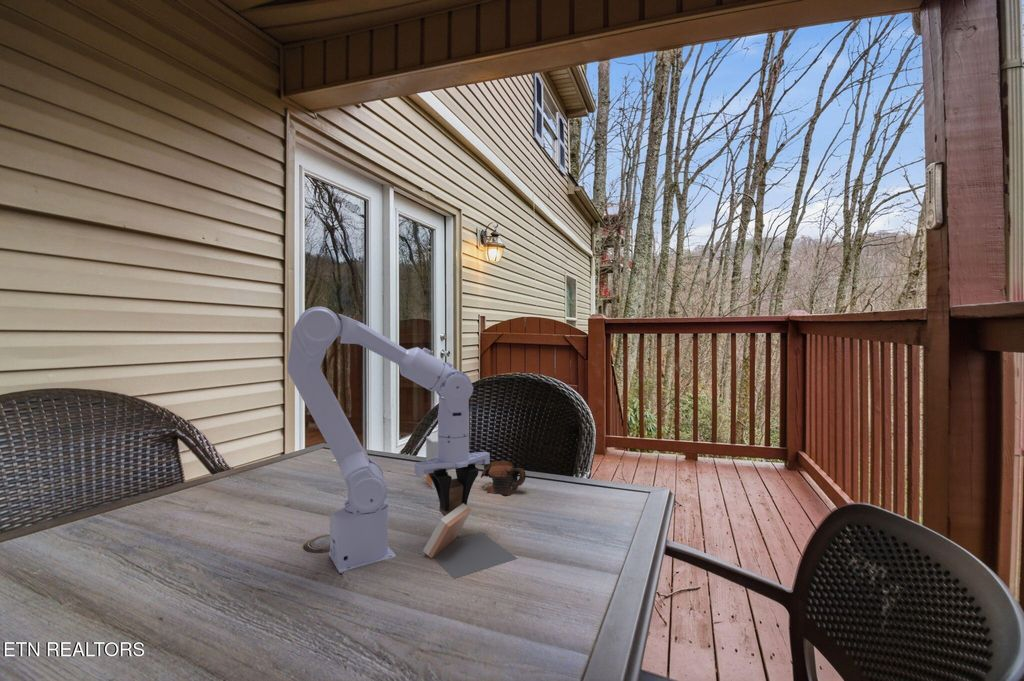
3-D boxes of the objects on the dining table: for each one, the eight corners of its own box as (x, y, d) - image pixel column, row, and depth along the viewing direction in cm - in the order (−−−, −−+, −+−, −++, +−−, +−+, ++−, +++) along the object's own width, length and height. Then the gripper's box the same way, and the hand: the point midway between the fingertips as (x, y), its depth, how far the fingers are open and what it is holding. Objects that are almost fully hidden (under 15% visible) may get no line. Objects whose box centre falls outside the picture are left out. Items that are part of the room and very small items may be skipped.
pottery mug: (474, 497, 112) (474, 463, 116) (491, 503, 120) (490, 470, 124) (521, 490, 109) (518, 455, 113) (535, 496, 116) (532, 463, 120)
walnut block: (446, 518, 87) (448, 488, 85) (439, 510, 89) (441, 481, 88) (460, 515, 88) (463, 485, 87) (453, 507, 91) (456, 478, 90)
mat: (454, 582, 74) (454, 578, 74) (424, 551, 84) (424, 548, 84) (517, 561, 80) (517, 558, 80) (482, 535, 90) (482, 532, 90)
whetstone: (431, 558, 80) (449, 526, 79) (422, 550, 81) (440, 519, 79) (454, 539, 88) (471, 509, 86) (446, 532, 88) (463, 503, 87)
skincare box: (425, 482, 122) (425, 436, 121) (441, 480, 124) (441, 434, 123) (431, 489, 116) (431, 441, 116) (448, 487, 118) (448, 439, 118)
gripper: (425, 444, 80) (425, 523, 80) (498, 433, 88) (498, 506, 88) (410, 436, 85) (410, 510, 86) (479, 427, 94) (479, 494, 94)
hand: (453, 507), depth 87 cm, fingers closed on walnut block, 3 cm apart
